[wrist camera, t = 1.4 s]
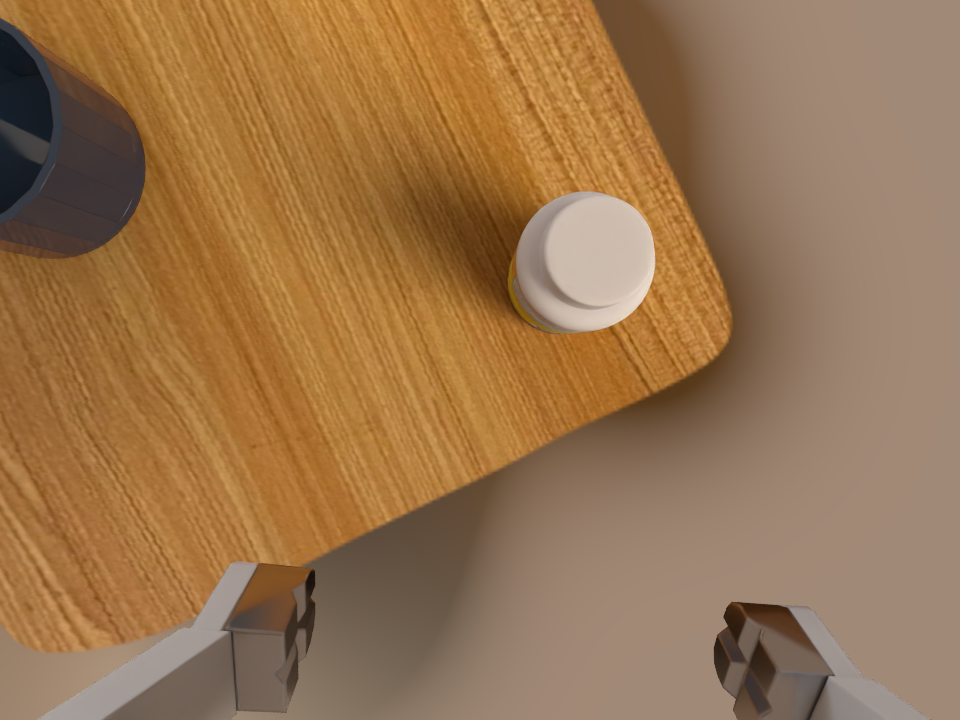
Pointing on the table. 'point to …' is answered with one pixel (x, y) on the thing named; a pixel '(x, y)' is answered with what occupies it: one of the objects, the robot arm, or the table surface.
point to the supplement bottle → (581, 264)
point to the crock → (61, 155)
